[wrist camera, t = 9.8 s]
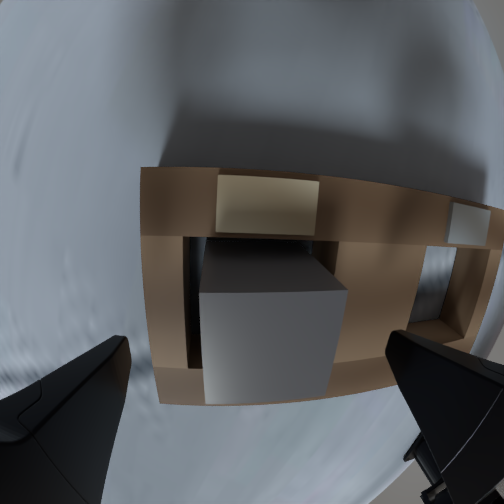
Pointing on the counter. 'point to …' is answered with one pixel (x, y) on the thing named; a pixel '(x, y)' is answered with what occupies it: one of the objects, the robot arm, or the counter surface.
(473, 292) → the socket bar
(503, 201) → the counter surface
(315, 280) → the plug
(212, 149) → the counter surface
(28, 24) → the counter surface
